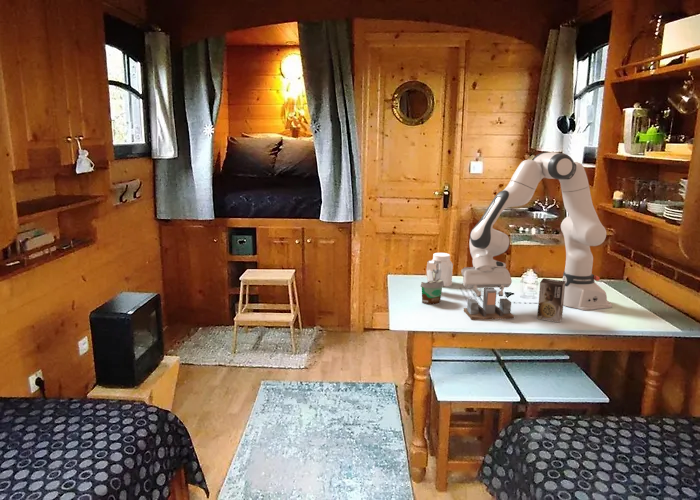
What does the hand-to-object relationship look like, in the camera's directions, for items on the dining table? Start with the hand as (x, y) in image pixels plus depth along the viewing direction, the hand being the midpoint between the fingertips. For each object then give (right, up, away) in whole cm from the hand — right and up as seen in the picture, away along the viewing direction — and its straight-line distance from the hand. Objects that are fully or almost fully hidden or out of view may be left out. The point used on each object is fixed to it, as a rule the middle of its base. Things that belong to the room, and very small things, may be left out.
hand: (490, 295), depth 228 cm
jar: (-13, +2, +46) cm, 48 cm away
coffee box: (+24, -9, -1) cm, 26 cm away
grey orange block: (0, -7, +2) cm, 7 cm away
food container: (-21, -5, +17) cm, 27 cm away
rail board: (0, -8, +2) cm, 8 cm away
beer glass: (-19, -1, +32) cm, 37 cm away
